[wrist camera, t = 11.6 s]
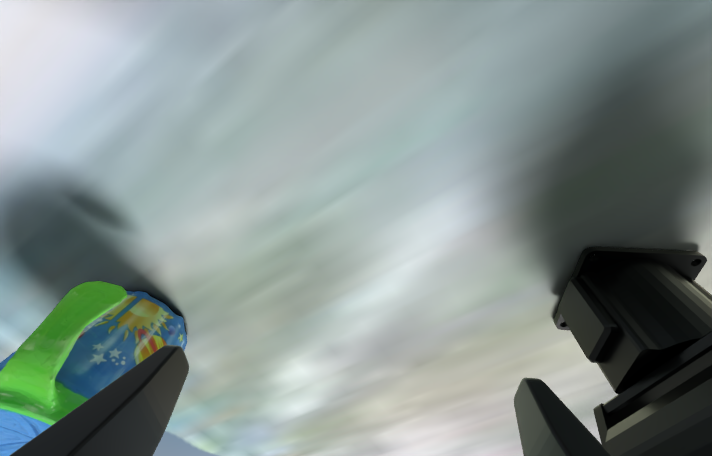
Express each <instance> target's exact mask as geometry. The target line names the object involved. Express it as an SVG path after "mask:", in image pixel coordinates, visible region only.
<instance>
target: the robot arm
mask: <svg viewBox="0 0 712 456" xmlns="http://www.w3.org/2000/svg"><path fill="white" fill-rule="evenodd" d="M593 254H595V255H594V256H592V257H590V256H591V255H593ZM693 260H694V261H693ZM706 261H707V259H706V257H705V256H703V255H702V254H701V253H699V252H696V251H676V250H655V249H634V248H612V247H589V248H587V249H585V250H584V251H583V252H582V254H581V257H580V259H579V261H578V264H577V266H576V268H575V271H574V273H573V276H572V278H571V279H570V280H569V283H568V285H567V287H566V290H565V292H564V294H563V297H562V299H561V302H560V304H559V306H558V311H557V313H556V316H555V318H554V323H555V325H556V327H557V328H558V329H561V330H571V332H572V334H573V335H574V337H575V339H576V340H577V342H578V344H579V345H580V347H581V349H582V350H583V352H584V354H585V355H586V357H587V358H588V359H589V360H590V362H593V363H597V364H598V365H599V367H600V369H601V370H602V372H603V373H604V375H605V377H606V378H607V380H608V381H609V383H610V385H611V386H612V388H613V390H614V391H615V392H616V393H617V394H618V395H617V396H615V397H614V398H612V399H611V400H610V401H608V402H607V403H605V404H602V403H601V404H600V405H598V406H597V407H596V408H594V414H595V418H596V422H597V427H598V431H599V435H600V439H601V443H602V445H601V444H600V442H599V441H598V440H597V439H596V438H595V437H594V436H593V435H592V434H591V433H590V432H589V431H588V429H587V428H586V427H585V426H584V425H583V424H582V423H581V422H580V421H579V420H578V419H577V418H576V416H575V415H574V414H573V413H572V412H571V411H570V410H569V409H568V408H567V407H566V406H565V404H564V403H563V402H562V401H561V400H560V399H559V398H558V397H557V396H556V395H555V394H554V393H553V391H552V390H551V389H550V388H549V387H548V386H547V385H546V384H545V383H544V382H543V381H542V380H540V379H535V378H524V379H522V381H521V383H520V385H519V387H518V390H517V392H516V394H515V397H514V406H515V412H516V417H517V423H518V428H519V433H520V438H521V444H522V449H523V454H524V456H712V295H711V294H710V293H708V292H707V291H706V290H705V289H704V288H702V287H701V286H700V285H699V284H698V283H696V282H695V281H694V280H695V278H696V277H697V275H698V274H699V272H700V271H701V269H702V268H703V266H704V265H705V263H706ZM562 322H563V323H562ZM188 371H189V364H188V361H187V359H186V356H185V353H184V351H183V348H182V347H181V346H177V345H165V346H163V347H161V348H160V349H158V350H157V351H156V352H154V353H153V354H151V355H150V356H149V357H147V358H146V359H144V360H143V361H142V362H140V363H139V364H137V365H136V366H134V367H133V368H132V369H130V370H129V371H127V372H126V373H125V374H123V375H122V376H120V377H119V378H118V379H116V380H115V381H113V382H112V383H111V384H109V385H108V386H106V387H105V388H104V389H102V390H101V391H99V392H98V393H96V394H95V395H94V396H92V397H91V398H89V399H88V400H87V401H85V402H84V403H82V404H81V405H80V406H78V407H77V408H75V409H74V410H73V411H71V412H70V413H68V414H67V415H66V416H64V417H63V418H61V419H60V420H59V421H57V422H56V423H54V424H53V425H51V426H50V427H49V428H47V429H46V430H44V431H43V432H42V433H40V434H39V435H37V436H36V437H35V438H33V439H32V440H30V441H29V442H28V443H26V444H25V445H23V446H22V447H21V448H19V449H18V450H16V451H15V452H13V453H12V454H11V455H9V456H153V454H154V452H155V450H156V447H157V446H158V443H159V442H160V440H161V438H162V436H163V433H164V432H165V429H166V427H167V425H168V422H169V420H170V417H171V415H172V412H173V410H174V407H175V405H176V402H177V400H178V397H179V395H180V392H181V390H182V387H183V385H184V382H185V380H186V377H187V374H188Z"/></svg>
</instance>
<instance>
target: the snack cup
mask: <svg viewBox="0 0 712 456" xmlns="http://www.w3.org/2000/svg"><path fill="white" fill-rule="evenodd" d="M186 344H187V336H186V332H185V327H184V320H183V318H182V317H181V316H177V315H176V314H174V313H173V312H172V311H171V309H170V308H169V307H168V306H167V305H165V304H164V303H162V302H160V301H159V300H157V299H155V298H153V297H151V296H149V295H148V293H146V292H140V291H136V292H132V291H125V289H124V288H123V287H122V286H118V285H115V284H110V283H107V282H102V281H93V282H85V283H82V284H80V285H78V286H76V287H74V288H72V289H71V290H70V291H69V292H68V293H67V294H66V295H65V296H64V297H63V298H62V300H61V301H60V302H59V303H58V304H57V306H56V307H55V308H54V310H53V311H52V312H51V313H50V314H49V315H48V316H47V318H46V319H45V320H44V321H43V322H42V323H41V325H40V326H39V327H38V328H37V329H36V330H35V331H34V332H33V333H32V334H31V335H30V336H29V337H28V338H27V340H26V341H25V342H24V343H23V344H22V345H21V346H20V347H19V348H18V350H17V351H15V352H14V353H12V354H11V355H10V356H9V357H7V358H6V359H5V360H3V361H2V362H1V363H0V456H9V455H11V454H12V453H13V452H15V451H16V450H18V449H19V448H21V447H22V446H23V445H25V444H26V443H28V442H29V441H30V440H32V439H33V438H35V437H36V436H37V435H39V434H40V433H42V432H43V431H44V430H46V429H47V428H49V427H50V426H51V425H53V424H54V423H56V422H57V421H59V420H60V419H61V418H63V417H64V416H66V415H67V414H68V413H70V412H71V411H73V410H74V409H75V408H77V407H78V406H80V405H81V404H82V403H84V402H85V401H87V400H88V399H89V398H91V397H92V396H94V395H95V394H96V393H98V392H99V391H101V390H102V389H104V388H105V387H106V386H108V385H109V384H111V383H112V382H113V381H115V380H116V379H118V378H119V377H120V376H122V375H123V374H125V373H126V372H127V371H129V370H130V369H132V368H133V367H134V366H136V365H137V364H139V363H140V362H142V361H143V360H144V359H146V358H147V357H149V356H150V355H151V354H153V353H154V352H156V351H157V350H158V349H160V348H161V347H163V346H165V345H177V346H181V347H182V348H183V351H184V349H185V346H186Z"/></svg>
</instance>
